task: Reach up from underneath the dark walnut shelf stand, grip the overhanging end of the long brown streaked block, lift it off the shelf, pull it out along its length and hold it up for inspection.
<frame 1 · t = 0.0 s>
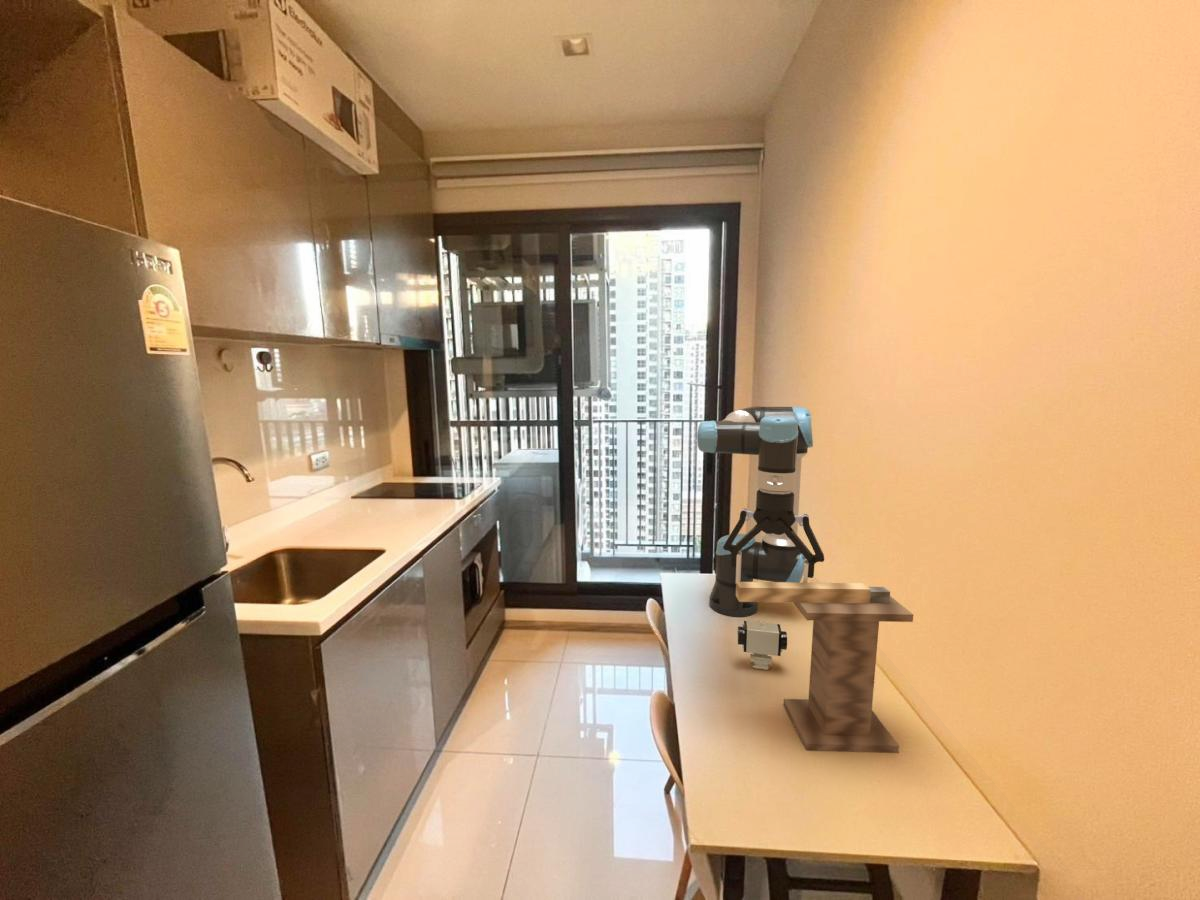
hand: (770, 586, 109), 29 cm above the table, tool pointing down, fingers open, 13 cm apart
shelf stand: (837, 727, 107), on the table
pneumatic valve: (760, 666, 129), on the table
brown streaked block: (811, 599, 103), point 28 cm above the table, touching shelf stand
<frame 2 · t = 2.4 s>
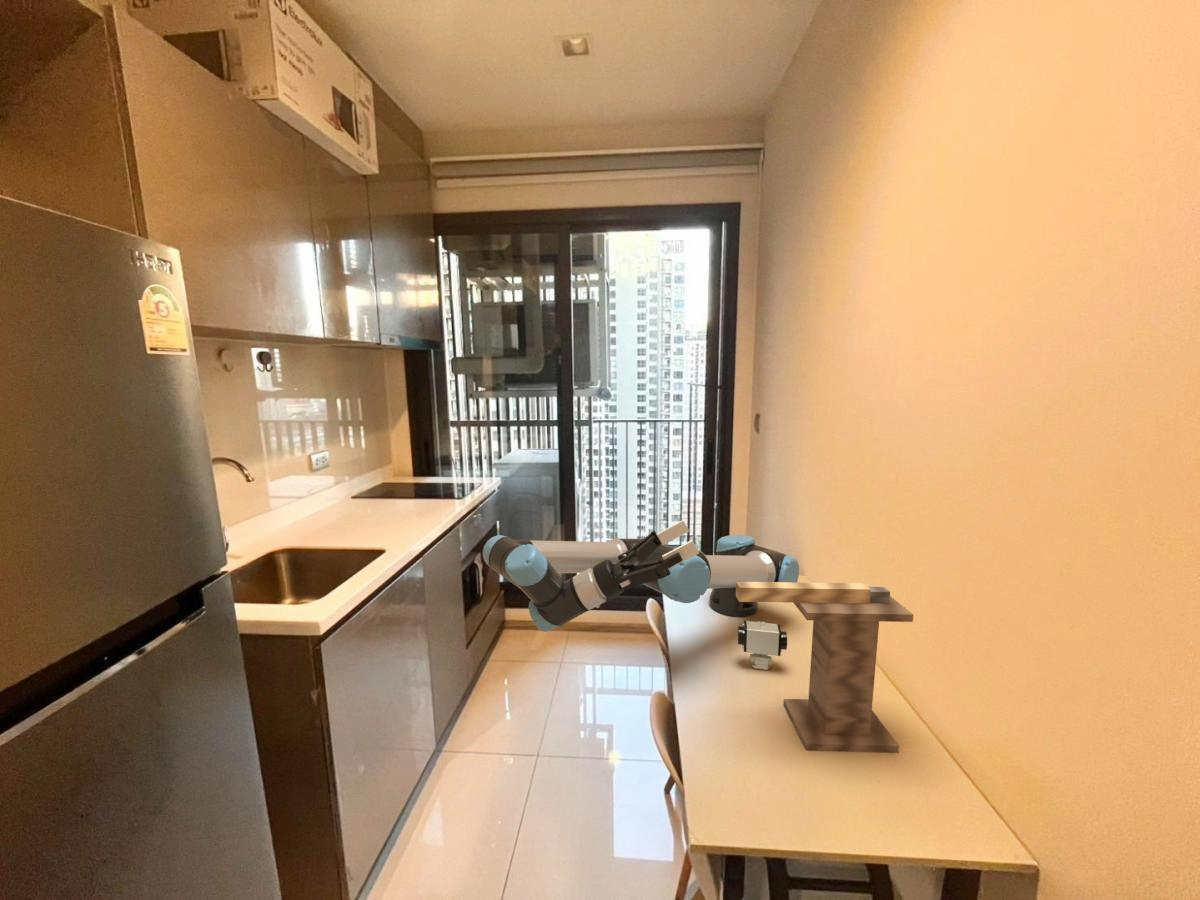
hand: (690, 535, 102), 42 cm above the table, tool pointing upward, fingers open, 13 cm apart
nothing on the table moved.
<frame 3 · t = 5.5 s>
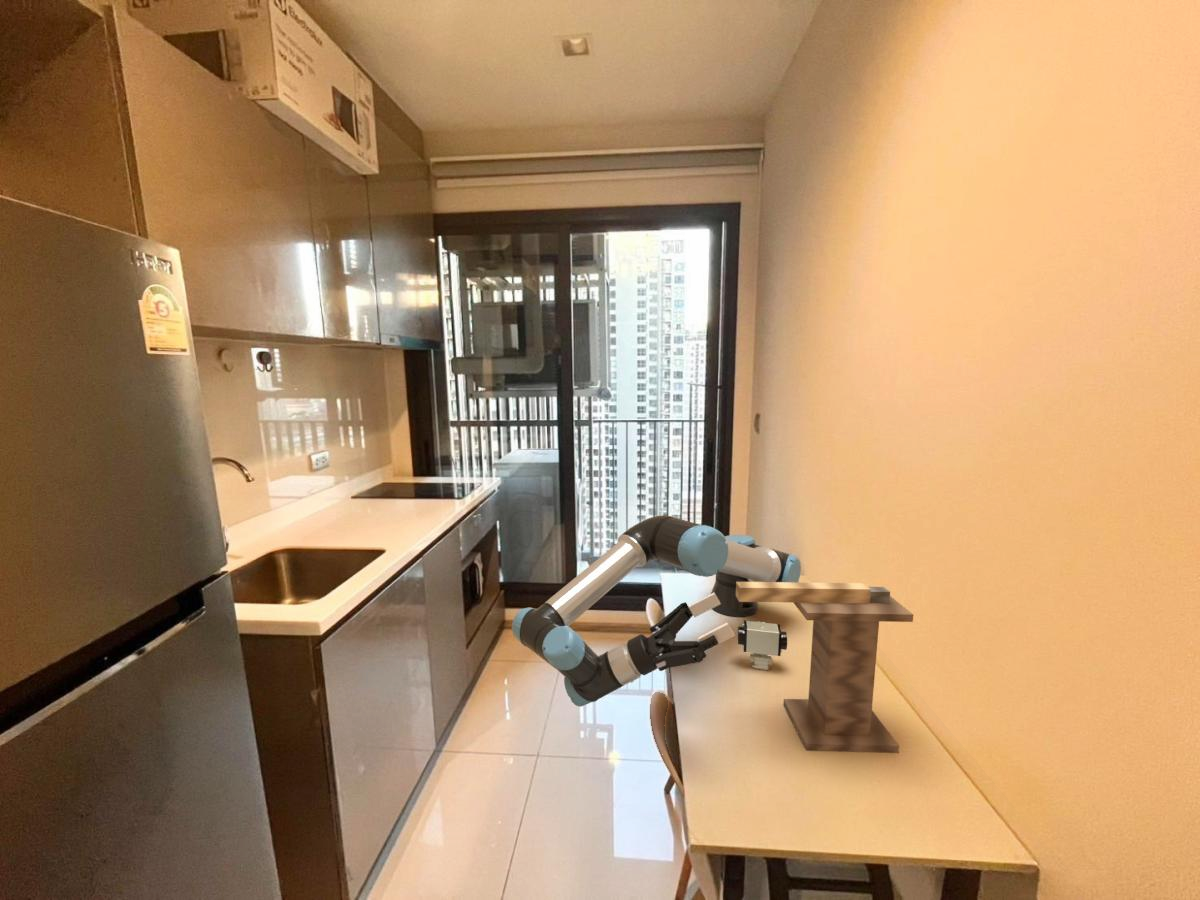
hand: (724, 612, 103), 26 cm above the table, tool pointing upward, fingers open, 13 cm apart
nothing on the table moved.
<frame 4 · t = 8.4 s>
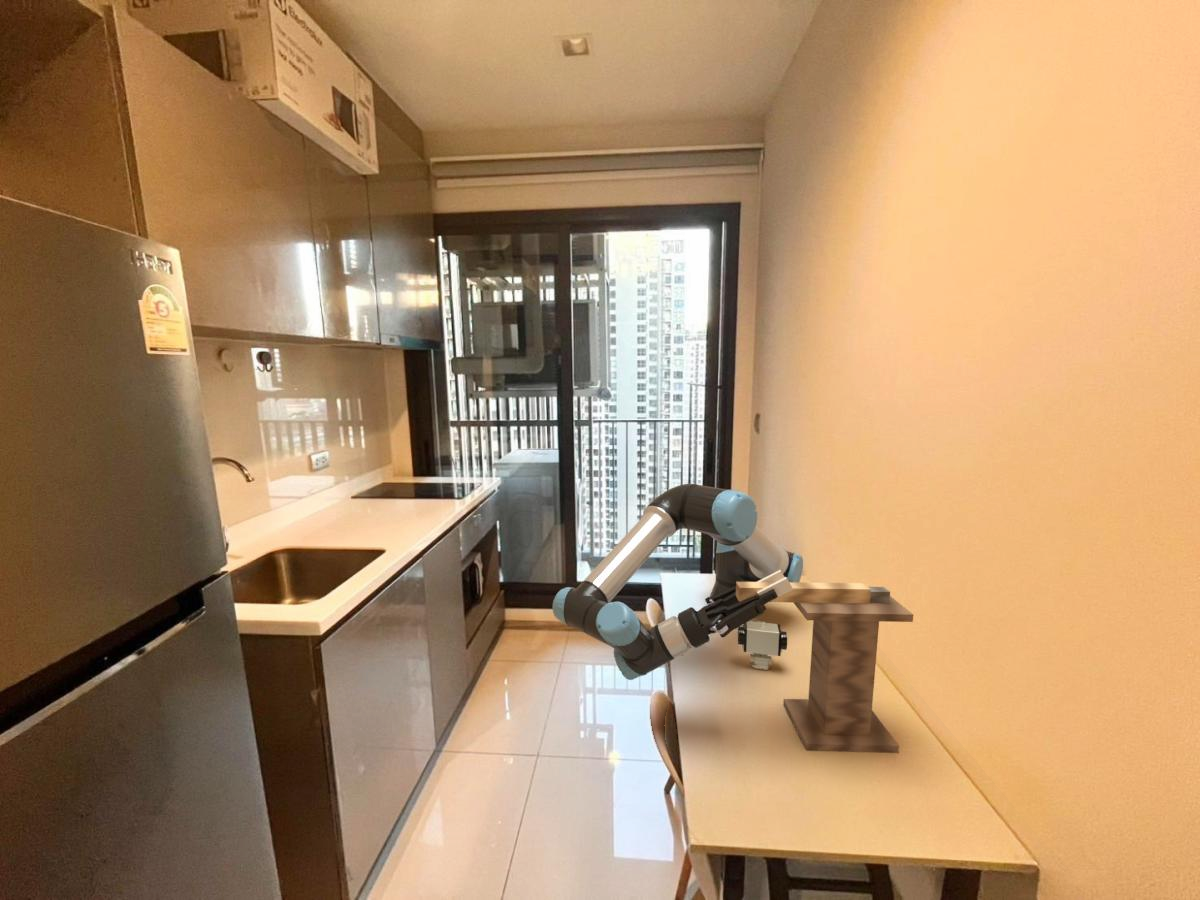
hand: (786, 579, 102), 33 cm above the table, tool pointing upward, fingers closed on brown streaked block, 3 cm apart
brown streaked block: (811, 599, 103), point 28 cm above the table, touching gripper, shelf stand
everything else where it was.
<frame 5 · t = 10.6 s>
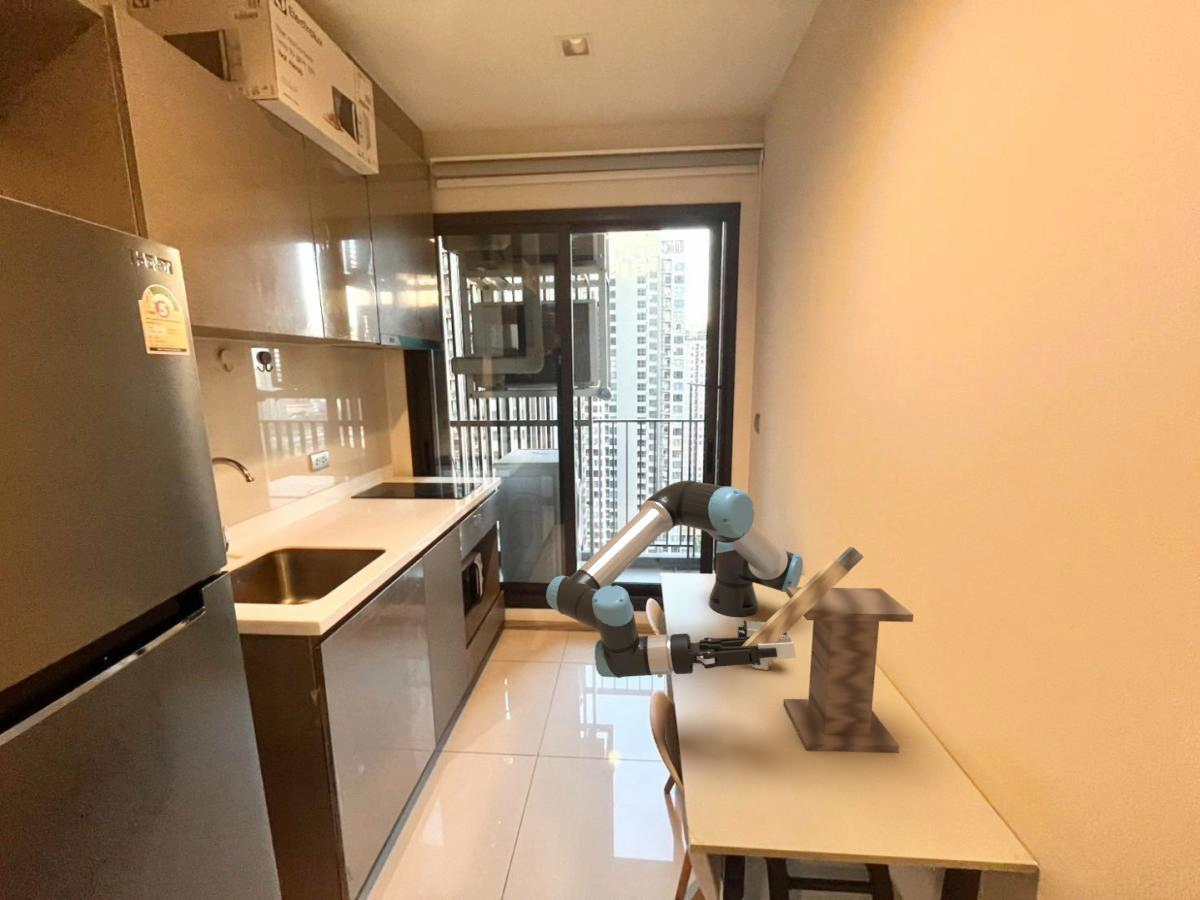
hand: (792, 647, 97), 22 cm above the table, tool horizontal, fingers closed on brown streaked block, 3 cm apart
brown streaked block: (805, 610, 97), point 29 cm above the table, tilted 49°, touching gripper
everything else where it was.
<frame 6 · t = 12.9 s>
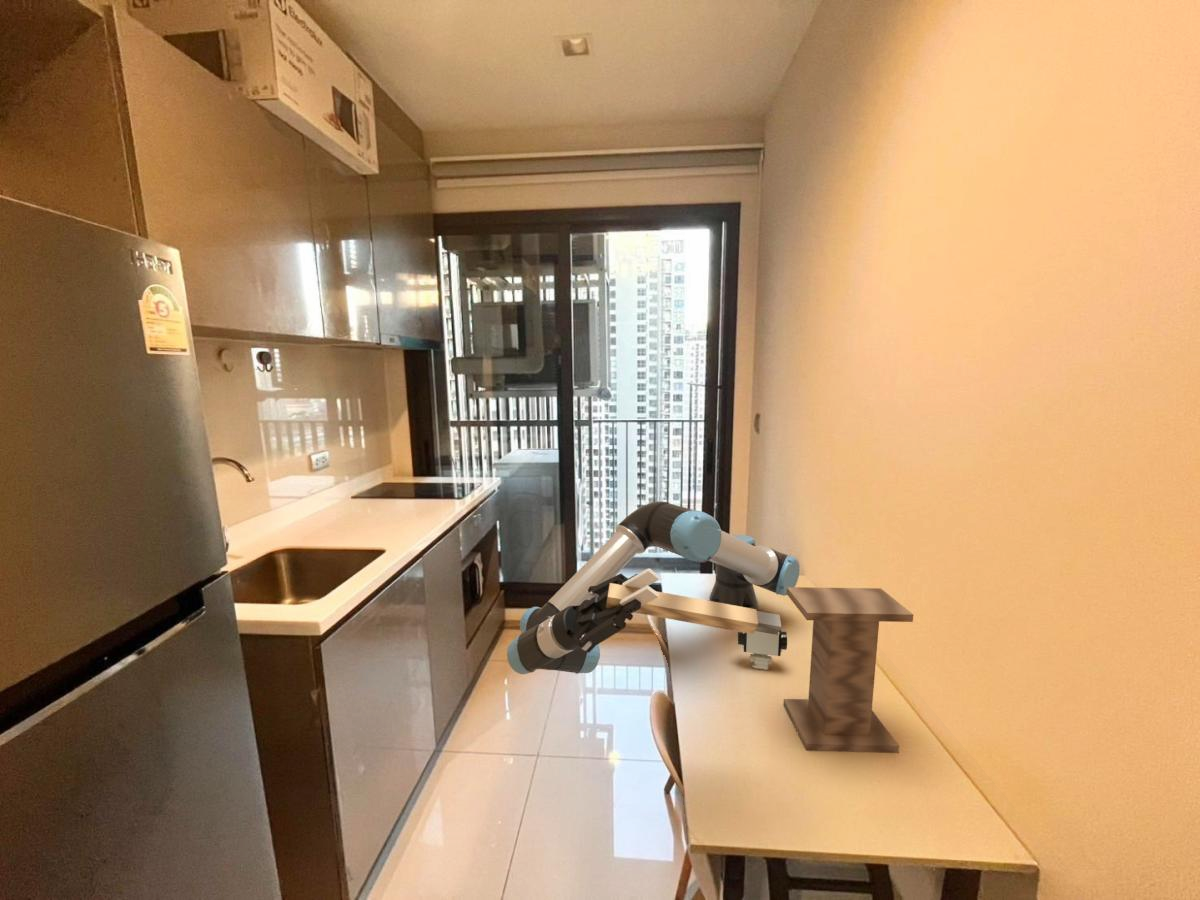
hand: (653, 582, 85), 39 cm above the table, tool pointing upward, fingers closed on brown streaked block, 3 cm apart
brown streaked block: (693, 605, 87), point 34 cm above the table, tilted 150°, touching gripper
everything else where it was.
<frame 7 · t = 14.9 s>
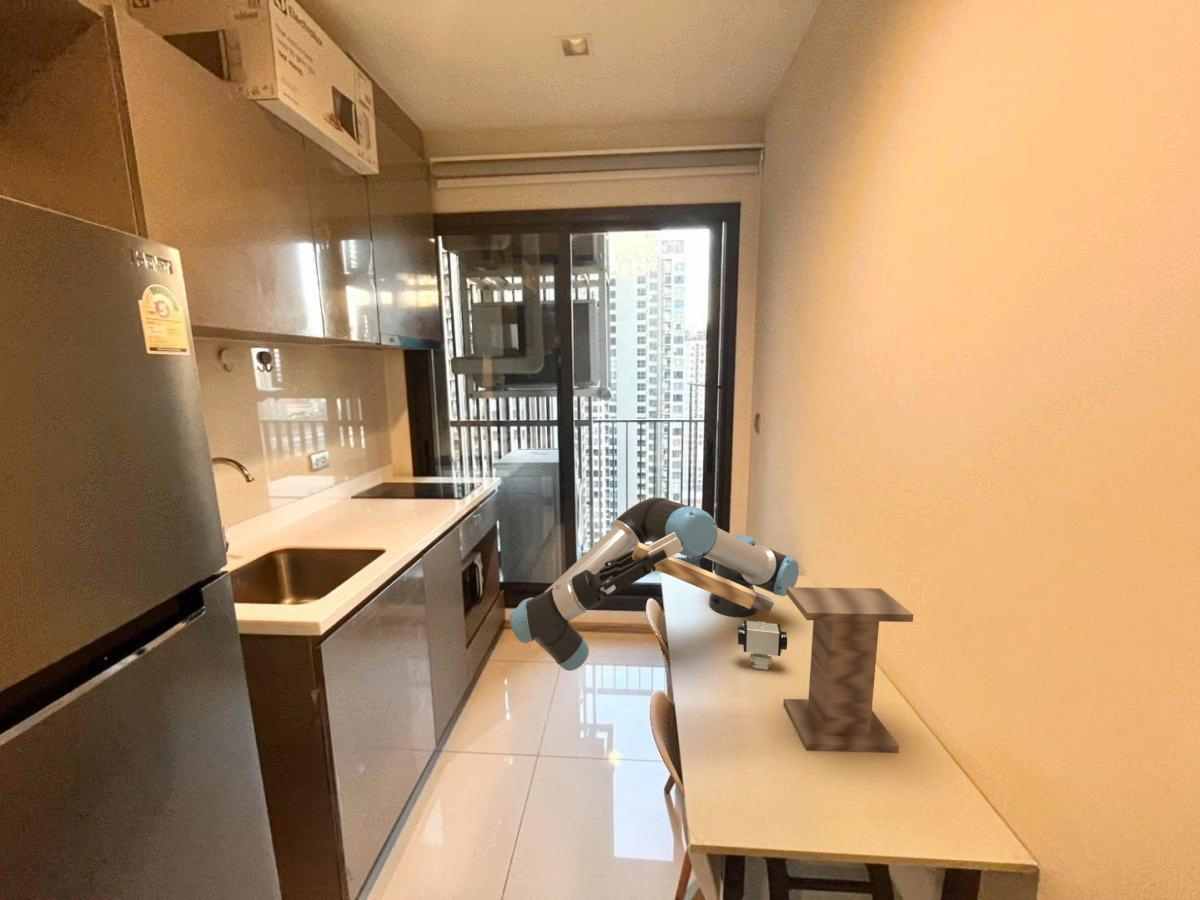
hand: (678, 540, 102), 41 cm above the table, tool pointing upward, fingers closed on brown streaked block, 3 cm apart
brown streaked block: (705, 572, 103), point 34 cm above the table, tilted 157°, touching gripper
everything else where it was.
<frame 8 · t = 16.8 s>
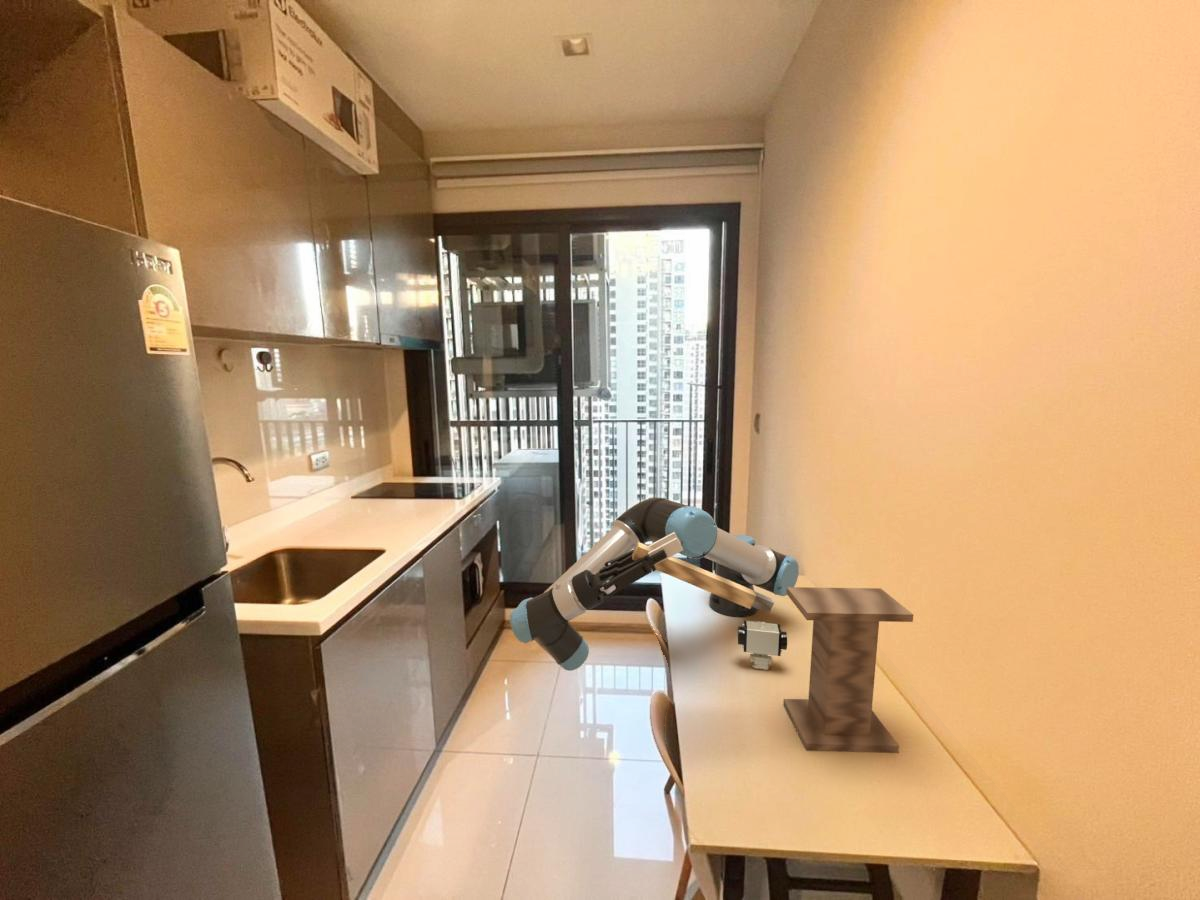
hand: (678, 540, 102), 41 cm above the table, tool pointing upward, fingers closed on brown streaked block, 3 cm apart
brown streaked block: (705, 572, 103), point 34 cm above the table, tilted 157°, touching gripper
everything else where it was.
at the end: the gripper is holding brown streaked block; brown streaked block touching gripper; brown streaked block point 34.0 cm above the table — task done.
